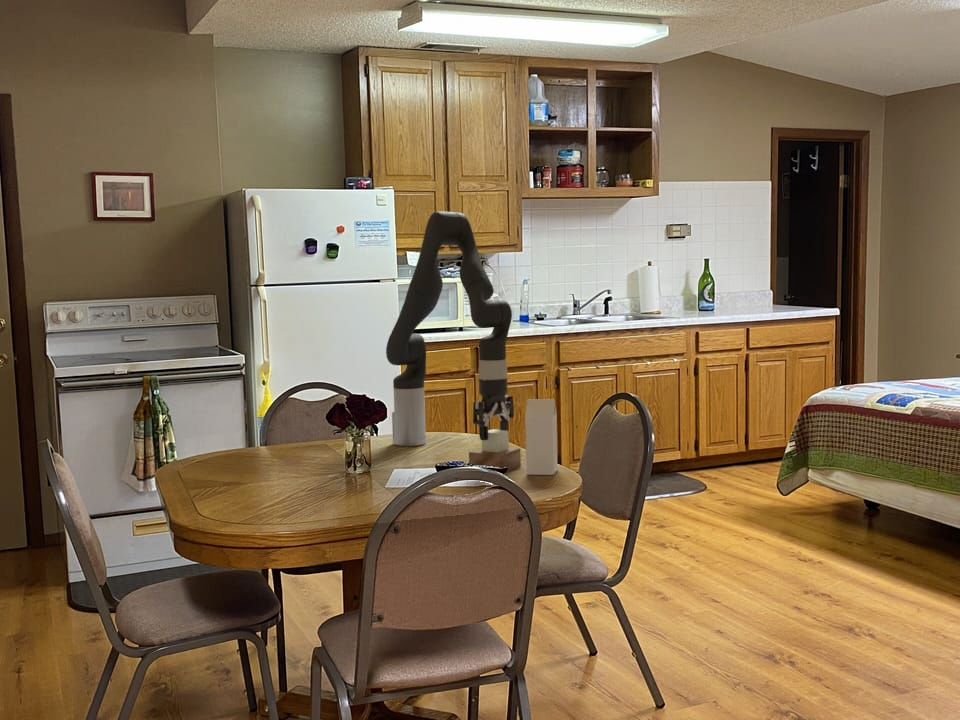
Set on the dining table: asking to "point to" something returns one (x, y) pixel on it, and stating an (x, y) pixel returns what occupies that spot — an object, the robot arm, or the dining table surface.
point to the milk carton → (541, 437)
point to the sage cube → (496, 441)
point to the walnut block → (496, 458)
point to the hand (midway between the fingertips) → (494, 437)
